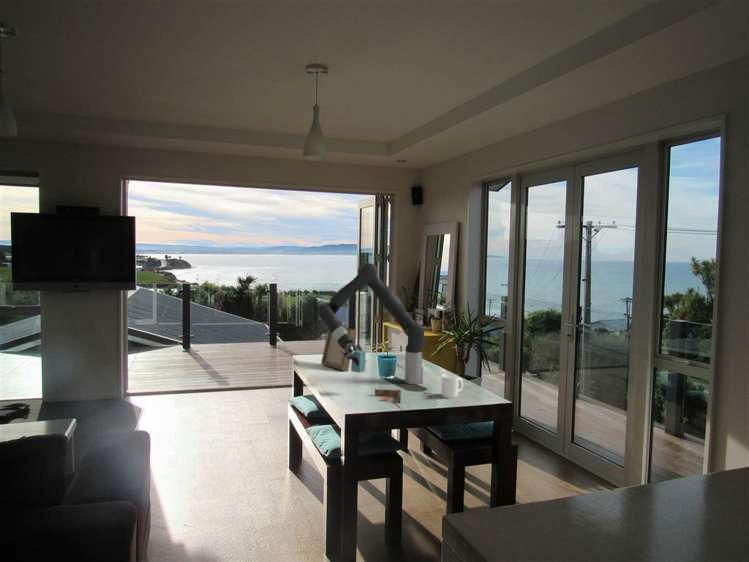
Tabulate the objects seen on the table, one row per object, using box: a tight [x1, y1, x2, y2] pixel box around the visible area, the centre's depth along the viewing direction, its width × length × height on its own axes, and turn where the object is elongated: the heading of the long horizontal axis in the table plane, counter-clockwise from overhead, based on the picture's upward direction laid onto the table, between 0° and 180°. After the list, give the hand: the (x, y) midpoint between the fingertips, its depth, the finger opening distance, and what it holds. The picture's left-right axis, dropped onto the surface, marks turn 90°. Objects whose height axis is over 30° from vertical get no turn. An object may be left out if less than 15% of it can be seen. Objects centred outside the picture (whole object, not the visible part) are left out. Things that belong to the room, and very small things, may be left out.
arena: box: [374, 388, 402, 404], centre depth 270 cm, size 13×13×3 cm
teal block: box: [350, 350, 367, 374], centre depth 278 cm, size 5×5×10 cm
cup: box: [440, 374, 464, 399], centre depth 279 cm, size 8×12×10 cm
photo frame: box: [320, 327, 357, 372], centre depth 338 cm, size 15×22×25 cm
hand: (361, 363), depth 277 cm, fingers closed on teal block, 5 cm apart
